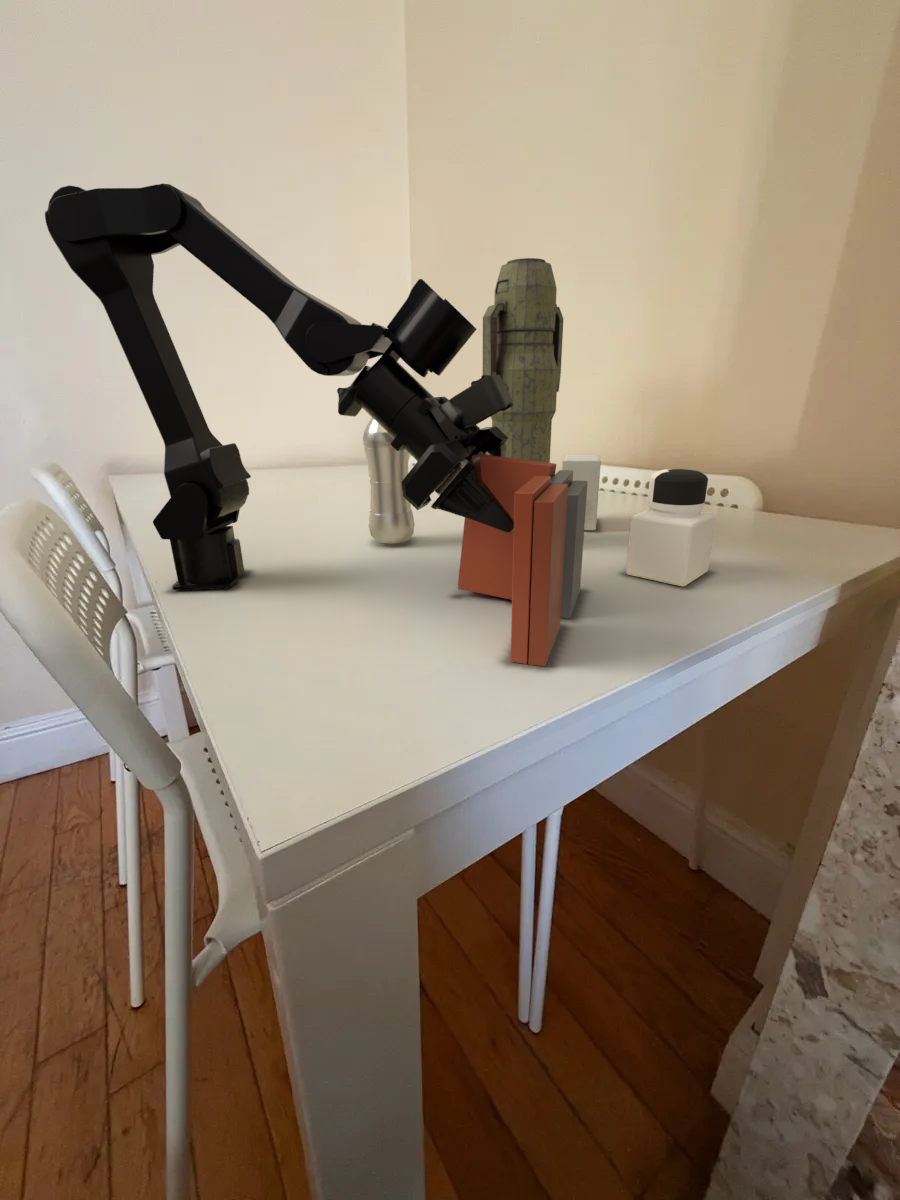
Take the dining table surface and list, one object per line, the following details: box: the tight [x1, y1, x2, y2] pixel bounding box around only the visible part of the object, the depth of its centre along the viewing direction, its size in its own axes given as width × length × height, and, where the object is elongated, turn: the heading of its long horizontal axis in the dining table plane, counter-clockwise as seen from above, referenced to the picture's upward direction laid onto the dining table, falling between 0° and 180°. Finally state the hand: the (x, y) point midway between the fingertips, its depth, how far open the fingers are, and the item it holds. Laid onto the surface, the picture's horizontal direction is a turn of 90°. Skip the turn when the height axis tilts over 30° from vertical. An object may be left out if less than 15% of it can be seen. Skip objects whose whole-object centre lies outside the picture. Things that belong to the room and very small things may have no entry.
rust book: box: [457, 454, 557, 601], centre depth 59 cm, size 8×3×14 cm, turn 69°
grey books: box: [550, 469, 588, 620], centre depth 57 cm, size 3×8×13 cm, turn 161°
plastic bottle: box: [362, 417, 415, 545], centre depth 79 cm, size 6×7×20 cm
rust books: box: [510, 476, 568, 667], centre depth 47 cm, size 3×8×14 cm, turn 161°
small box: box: [561, 454, 602, 531], centre depth 88 cm, size 8×6×10 cm
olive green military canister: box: [482, 257, 564, 463], centre depth 75 cm, size 9×12×35 cm
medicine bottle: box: [625, 468, 717, 587], centre depth 65 cm, size 7×7×12 cm
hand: (520, 520), depth 57 cm, fingers closed on rust book, 6 cm apart
